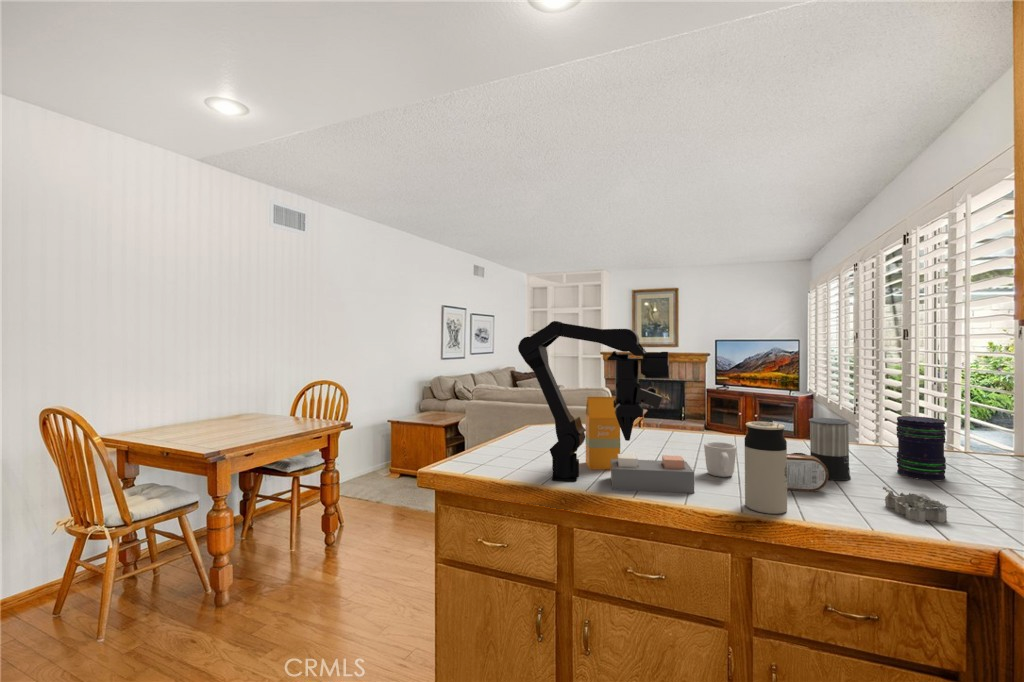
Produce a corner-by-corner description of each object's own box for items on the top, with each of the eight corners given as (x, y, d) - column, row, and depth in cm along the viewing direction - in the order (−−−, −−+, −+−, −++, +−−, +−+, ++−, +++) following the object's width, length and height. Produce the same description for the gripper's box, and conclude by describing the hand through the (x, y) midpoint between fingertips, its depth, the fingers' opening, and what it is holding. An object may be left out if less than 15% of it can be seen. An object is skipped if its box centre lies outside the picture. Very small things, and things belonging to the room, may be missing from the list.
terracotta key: (664, 476, 115) (664, 459, 115) (662, 471, 119) (662, 455, 119) (684, 477, 114) (684, 460, 114) (681, 471, 118) (681, 455, 118)
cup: (743, 483, 119) (743, 451, 119) (709, 481, 120) (709, 450, 120) (732, 471, 129) (732, 442, 129) (701, 470, 131) (701, 441, 131)
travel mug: (740, 509, 100) (740, 424, 100) (750, 499, 106) (749, 420, 106) (783, 518, 95) (782, 429, 95) (790, 507, 101) (789, 423, 101)
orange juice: (620, 469, 132) (620, 398, 132) (589, 469, 132) (588, 398, 132) (615, 462, 140) (614, 395, 140) (585, 462, 140) (584, 395, 140)
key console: (612, 489, 114) (611, 468, 114) (610, 477, 124) (610, 458, 124) (694, 493, 111) (694, 472, 111) (686, 480, 121) (686, 461, 121)
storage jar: (904, 478, 122) (904, 420, 122) (890, 468, 131) (890, 415, 131) (953, 482, 118) (953, 423, 118) (936, 472, 127) (935, 417, 127)
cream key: (618, 474, 117) (618, 458, 117) (617, 469, 121) (617, 453, 121) (637, 475, 116) (637, 458, 116) (636, 470, 120) (636, 454, 120)
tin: (825, 489, 113) (824, 454, 113) (830, 493, 110) (830, 457, 110) (756, 485, 117) (756, 451, 117) (760, 489, 114) (760, 454, 114)
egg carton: (880, 504, 104) (879, 485, 104) (919, 506, 102) (919, 487, 102) (909, 522, 93) (909, 501, 93) (954, 525, 92) (953, 504, 92)
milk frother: (852, 483, 118) (851, 424, 118) (780, 474, 126) (779, 419, 126) (847, 470, 130) (847, 416, 130) (782, 462, 138) (781, 412, 138)
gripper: (665, 381, 108) (666, 449, 108) (655, 376, 126) (655, 434, 126) (615, 381, 110) (616, 448, 110) (613, 375, 128) (613, 433, 128)
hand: (627, 440), depth 118 cm, fingers closed
